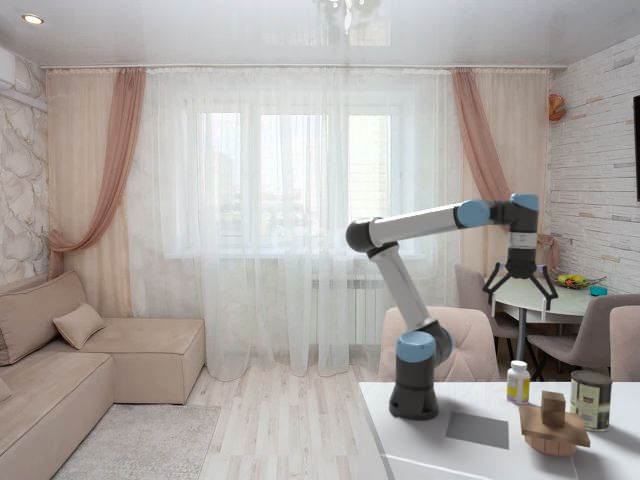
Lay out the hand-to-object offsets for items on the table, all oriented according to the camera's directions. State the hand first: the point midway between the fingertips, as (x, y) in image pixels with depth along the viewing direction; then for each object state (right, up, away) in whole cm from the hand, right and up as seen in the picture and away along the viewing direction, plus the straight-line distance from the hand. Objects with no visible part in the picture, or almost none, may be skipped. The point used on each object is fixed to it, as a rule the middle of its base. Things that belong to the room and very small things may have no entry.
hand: (517, 318), depth 130 cm
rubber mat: (-14, -31, -5) cm, 34 cm away
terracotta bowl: (+3, -32, -12) cm, 34 cm away
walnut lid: (+2, -26, -15) cm, 30 cm away
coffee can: (+21, -31, 0) cm, 37 cm away
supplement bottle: (+6, -30, +14) cm, 33 cm away
